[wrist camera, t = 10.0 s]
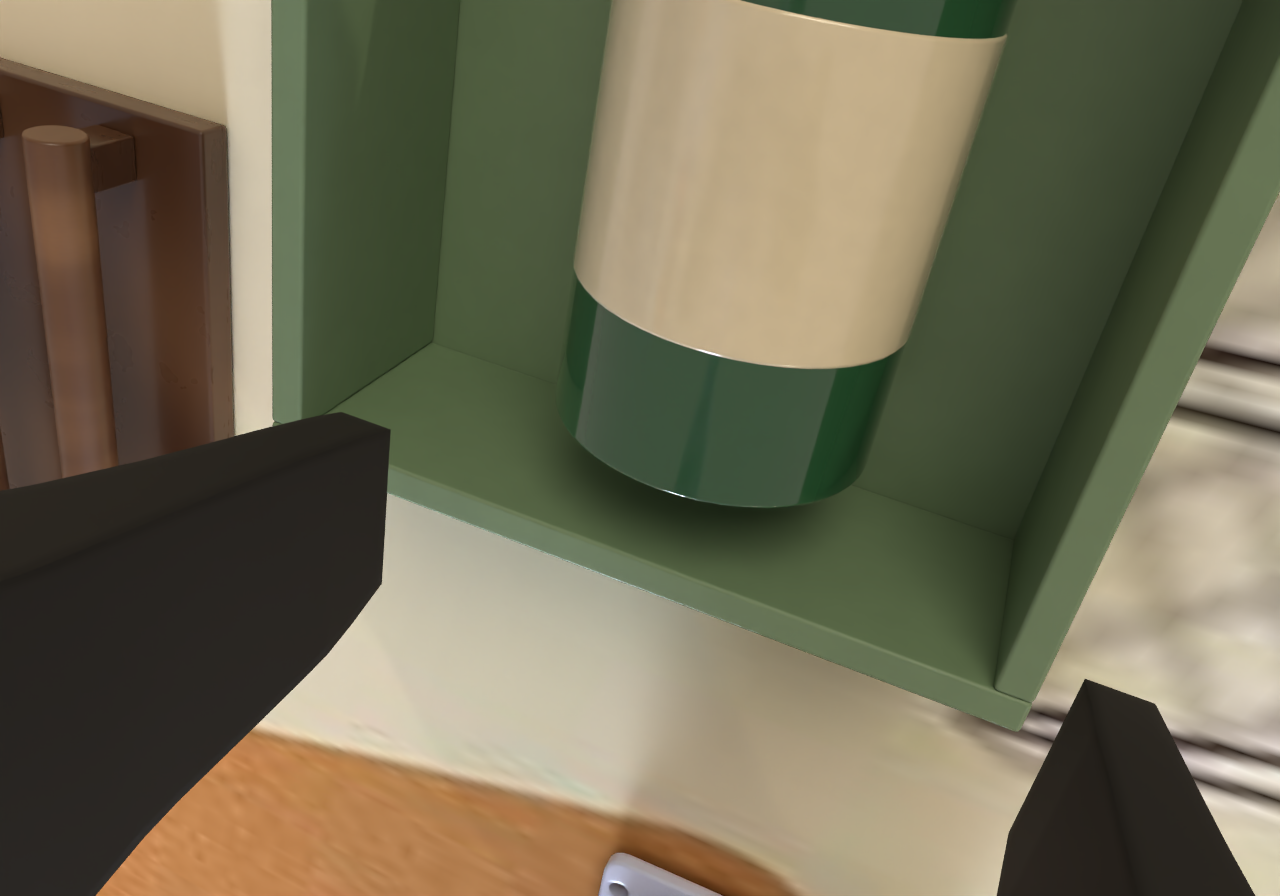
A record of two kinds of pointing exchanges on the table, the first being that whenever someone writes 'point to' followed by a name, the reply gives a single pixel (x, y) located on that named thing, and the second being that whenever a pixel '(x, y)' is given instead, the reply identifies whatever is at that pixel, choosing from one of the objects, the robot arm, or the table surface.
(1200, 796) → the robot arm
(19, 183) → the rack
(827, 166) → the bottle
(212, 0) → the table surface
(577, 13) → the basket
